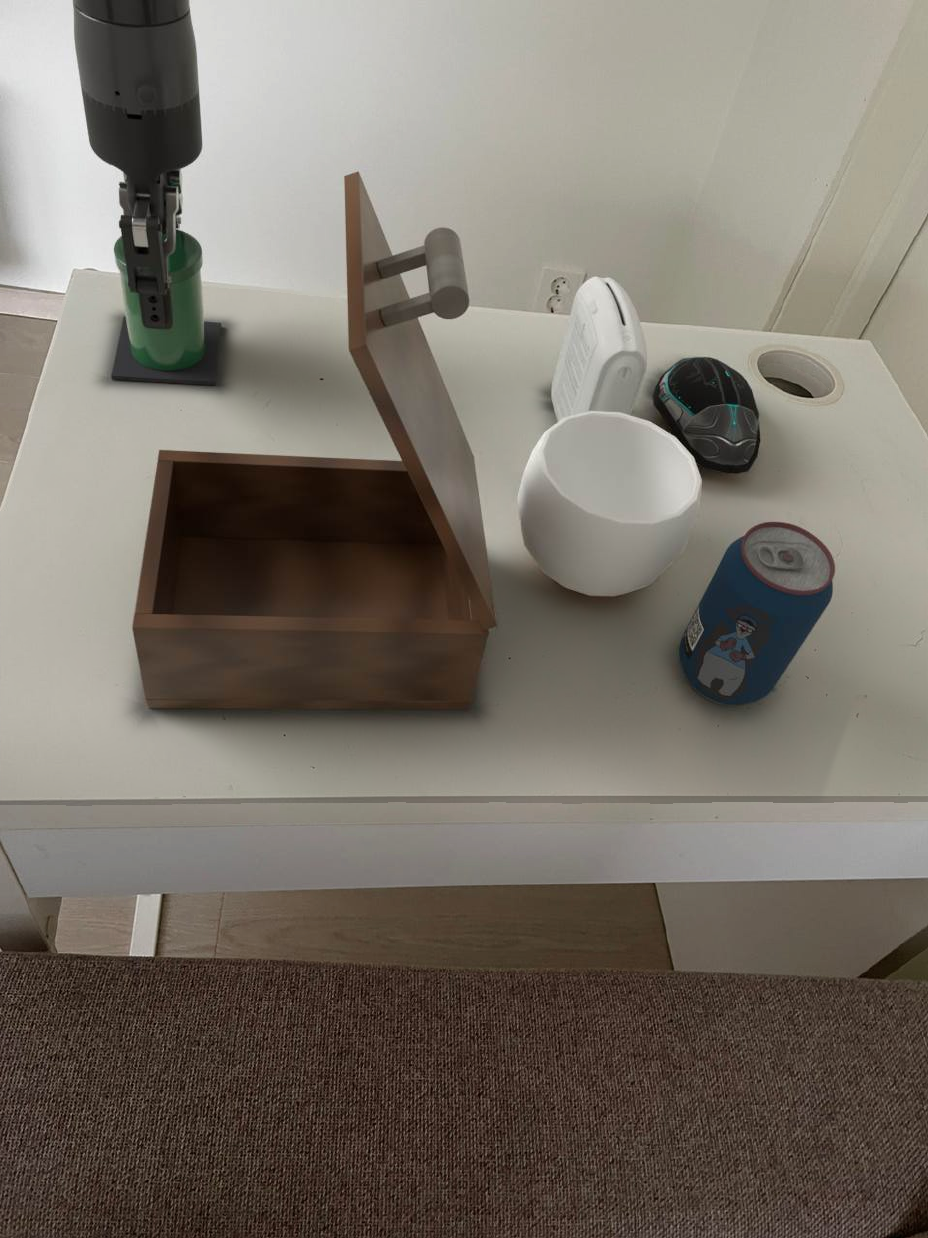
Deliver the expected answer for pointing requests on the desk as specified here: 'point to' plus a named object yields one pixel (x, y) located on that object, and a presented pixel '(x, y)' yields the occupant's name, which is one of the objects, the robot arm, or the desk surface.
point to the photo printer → (600, 353)
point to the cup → (608, 502)
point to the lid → (417, 379)
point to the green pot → (188, 328)
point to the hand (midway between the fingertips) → (162, 298)
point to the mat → (196, 374)
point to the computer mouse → (710, 413)
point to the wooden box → (299, 589)
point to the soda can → (756, 613)
